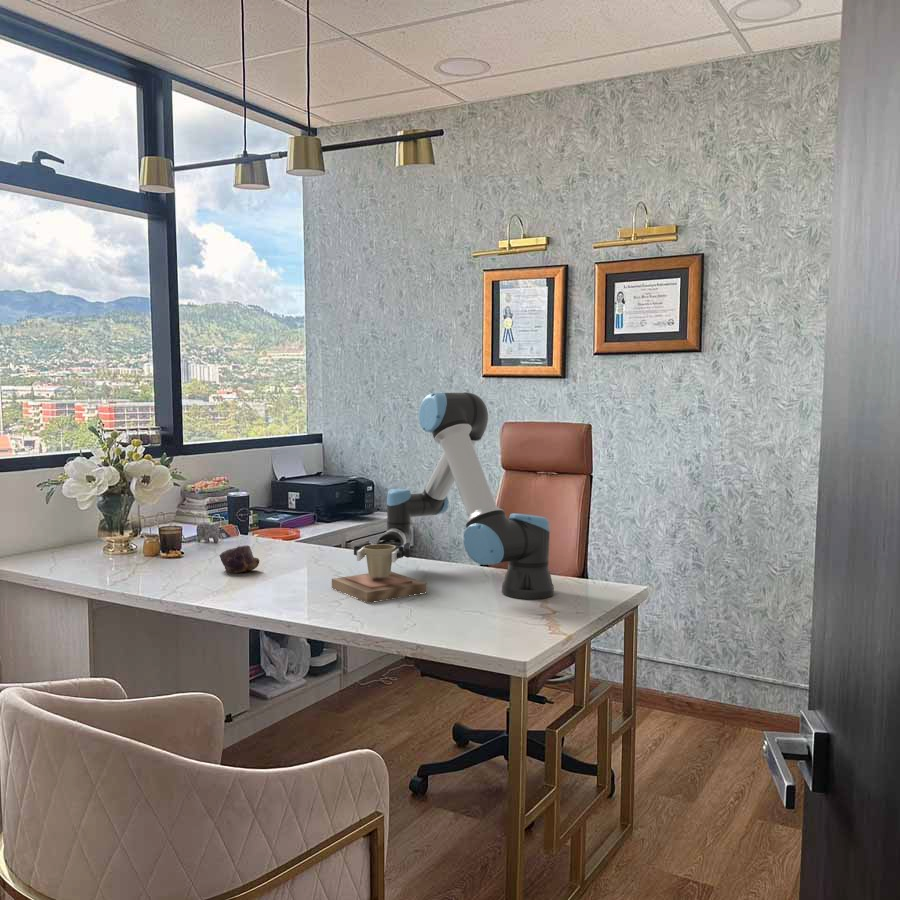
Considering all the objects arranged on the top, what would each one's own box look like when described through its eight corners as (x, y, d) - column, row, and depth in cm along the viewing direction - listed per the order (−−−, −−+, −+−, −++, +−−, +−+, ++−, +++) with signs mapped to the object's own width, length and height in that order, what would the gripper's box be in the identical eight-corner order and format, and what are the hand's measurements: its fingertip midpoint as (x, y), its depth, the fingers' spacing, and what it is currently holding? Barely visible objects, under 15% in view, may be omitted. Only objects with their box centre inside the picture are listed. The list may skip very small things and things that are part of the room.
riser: (388, 580, 259) (389, 569, 258) (426, 593, 243) (426, 581, 243) (331, 588, 247) (331, 576, 247) (366, 603, 231) (367, 590, 231)
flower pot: (377, 571, 251) (377, 542, 251) (402, 575, 246) (402, 545, 245) (356, 577, 243) (356, 547, 243) (382, 580, 238) (381, 550, 238)
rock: (233, 571, 274) (213, 576, 264) (230, 545, 274) (210, 549, 265) (263, 569, 269) (244, 574, 260) (260, 542, 269) (241, 547, 260)
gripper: (426, 556, 260) (413, 571, 238) (357, 553, 264) (337, 568, 241) (427, 532, 260) (413, 545, 238) (357, 529, 263) (338, 542, 241)
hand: (375, 556), depth 240 cm, fingers open, 9 cm apart
